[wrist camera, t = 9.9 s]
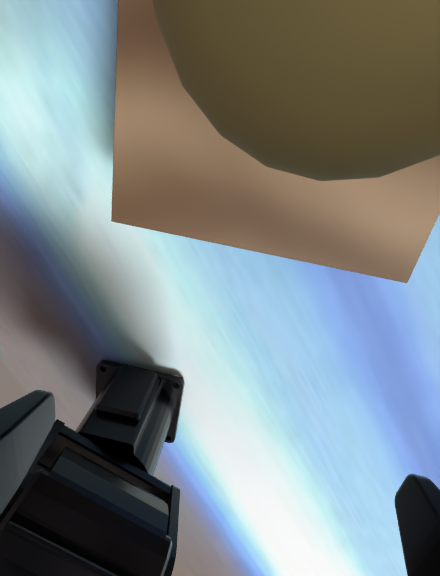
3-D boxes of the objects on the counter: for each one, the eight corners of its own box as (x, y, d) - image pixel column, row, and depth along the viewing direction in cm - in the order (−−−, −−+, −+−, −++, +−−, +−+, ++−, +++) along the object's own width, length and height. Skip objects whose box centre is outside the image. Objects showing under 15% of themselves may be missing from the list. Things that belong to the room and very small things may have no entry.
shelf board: (397, 273, 16) (406, 283, 15) (121, 215, 17) (111, 221, 16) (582, -142, 10) (620, -175, 9) (140, -209, 11) (125, -248, 10)
